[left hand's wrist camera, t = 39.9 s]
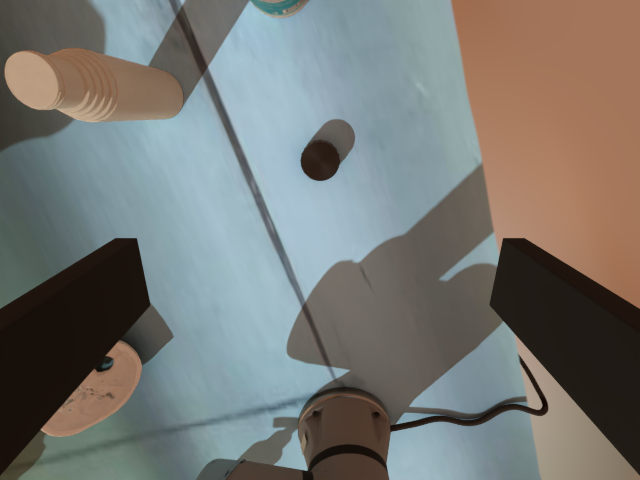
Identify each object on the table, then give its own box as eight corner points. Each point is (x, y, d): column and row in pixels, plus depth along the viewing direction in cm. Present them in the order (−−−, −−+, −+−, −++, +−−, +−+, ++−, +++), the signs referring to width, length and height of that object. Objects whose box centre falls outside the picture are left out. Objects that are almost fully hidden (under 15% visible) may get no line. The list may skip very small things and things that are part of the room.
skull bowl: (26, 368, 51) (-5, 407, 40) (114, 308, 56) (108, 329, 45) (75, 414, 54) (59, 461, 44) (155, 354, 59) (157, 383, 49)
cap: (327, 184, 43) (327, 187, 41) (295, 166, 42) (293, 169, 40) (345, 151, 42) (346, 153, 40) (312, 132, 41) (311, 133, 39)
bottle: (130, 103, 40) (-21, 95, 22) (147, 59, 38) (-2, 13, 20) (173, 127, 41) (61, 139, 23) (191, 86, 39) (84, 64, 21)
